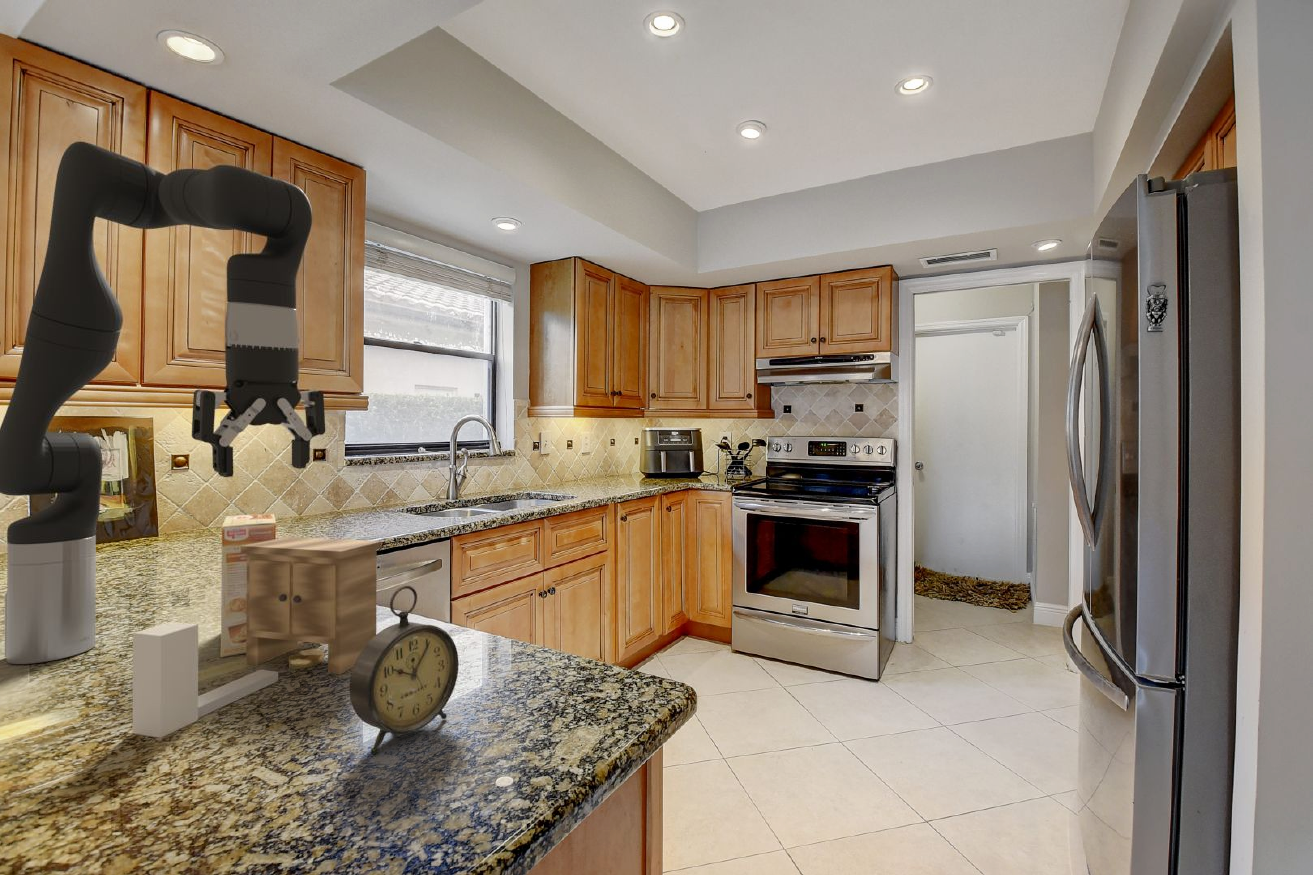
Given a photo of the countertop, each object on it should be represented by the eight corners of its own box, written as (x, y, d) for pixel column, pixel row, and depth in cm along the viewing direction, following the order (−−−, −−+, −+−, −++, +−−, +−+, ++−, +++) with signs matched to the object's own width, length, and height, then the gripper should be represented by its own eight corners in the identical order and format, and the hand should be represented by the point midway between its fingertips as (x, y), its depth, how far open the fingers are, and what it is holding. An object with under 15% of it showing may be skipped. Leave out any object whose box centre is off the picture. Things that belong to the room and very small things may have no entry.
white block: (132, 733, 63) (132, 632, 63) (256, 678, 78) (257, 596, 78) (160, 737, 62) (160, 635, 62) (281, 681, 77) (281, 598, 77)
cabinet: (237, 665, 82) (238, 546, 82) (288, 645, 90) (288, 536, 90) (338, 677, 78) (338, 551, 78) (381, 654, 86) (381, 541, 86)
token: (281, 668, 82) (281, 658, 82) (306, 657, 86) (306, 647, 86) (306, 671, 81) (306, 661, 81) (331, 660, 85) (331, 650, 85)
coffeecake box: (276, 648, 89) (276, 522, 89) (218, 658, 85) (218, 526, 85) (274, 623, 101) (275, 512, 101) (224, 630, 97) (224, 515, 97)
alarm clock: (371, 764, 57) (371, 601, 57) (340, 749, 60) (341, 593, 60) (461, 719, 66) (461, 578, 66) (431, 707, 69) (431, 572, 69)
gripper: (305, 345, 79) (305, 461, 81) (179, 337, 67) (182, 474, 69) (337, 348, 76) (336, 469, 78) (209, 340, 63) (212, 484, 65)
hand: (263, 471), depth 73 cm, fingers open, 8 cm apart
